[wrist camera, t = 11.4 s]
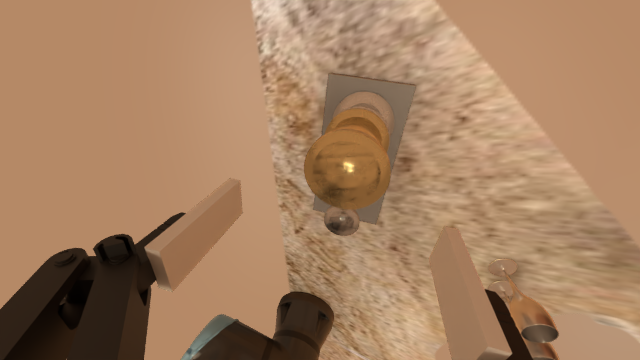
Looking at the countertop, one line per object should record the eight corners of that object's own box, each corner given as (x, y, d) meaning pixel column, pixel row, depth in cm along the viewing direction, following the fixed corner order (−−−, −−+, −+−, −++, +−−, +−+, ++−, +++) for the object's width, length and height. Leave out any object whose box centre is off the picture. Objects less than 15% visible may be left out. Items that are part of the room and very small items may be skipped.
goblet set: (483, 258, 43) (519, 332, 32) (522, 256, 41) (575, 334, 30) (487, 348, 54) (515, 427, 43) (517, 350, 52) (555, 433, 41)
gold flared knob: (380, 174, 30) (379, 217, 22) (322, 162, 31) (301, 199, 23) (396, 113, 26) (401, 140, 18) (329, 103, 27) (307, 124, 19)
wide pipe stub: (385, 156, 37) (386, 179, 30) (329, 145, 38) (317, 165, 31) (401, 96, 32) (406, 107, 25) (337, 86, 33) (325, 95, 27)
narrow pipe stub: (363, 208, 42) (359, 243, 34) (329, 201, 43) (317, 233, 35) (371, 178, 39) (368, 209, 31) (333, 170, 40) (321, 198, 32)
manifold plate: (376, 219, 44) (375, 224, 43) (315, 205, 46) (313, 209, 45) (415, 84, 32) (416, 86, 31) (330, 73, 34) (328, 73, 33)
